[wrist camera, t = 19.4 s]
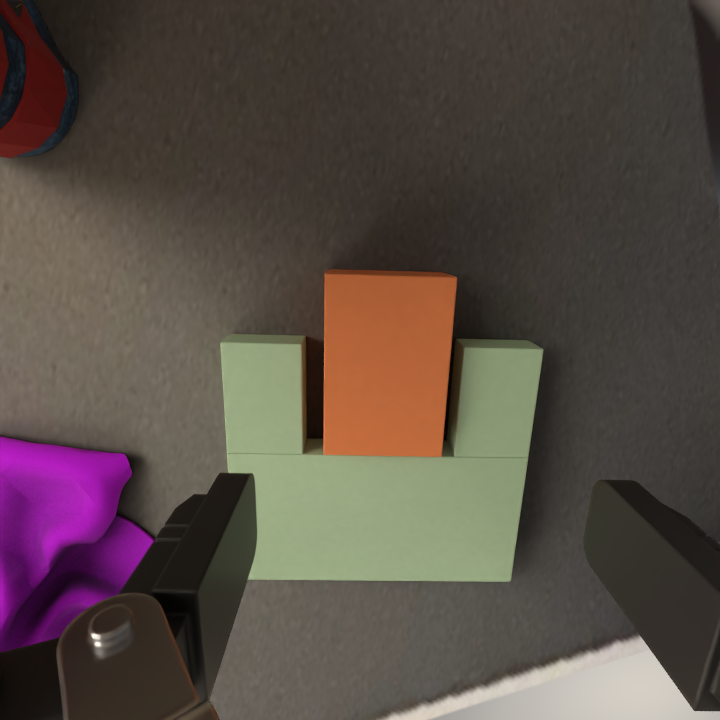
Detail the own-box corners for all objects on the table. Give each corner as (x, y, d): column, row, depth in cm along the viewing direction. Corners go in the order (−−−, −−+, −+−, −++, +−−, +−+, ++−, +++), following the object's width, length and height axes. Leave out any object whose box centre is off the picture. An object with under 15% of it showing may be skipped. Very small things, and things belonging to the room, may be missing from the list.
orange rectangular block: (444, 272, 23) (457, 276, 20) (431, 432, 25) (442, 457, 22) (328, 268, 22) (324, 273, 19) (326, 430, 25) (323, 455, 22)
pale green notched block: (528, 340, 24) (544, 348, 22) (499, 557, 27) (511, 582, 25) (230, 333, 23) (219, 342, 21) (243, 555, 27) (234, 579, 25)
